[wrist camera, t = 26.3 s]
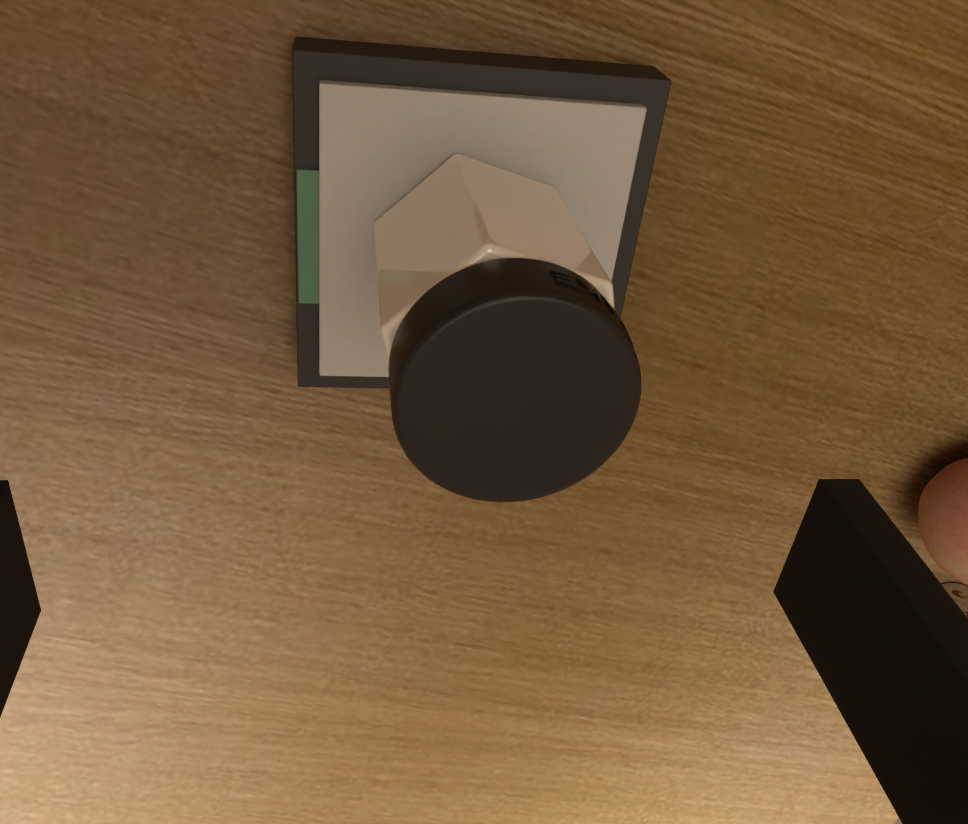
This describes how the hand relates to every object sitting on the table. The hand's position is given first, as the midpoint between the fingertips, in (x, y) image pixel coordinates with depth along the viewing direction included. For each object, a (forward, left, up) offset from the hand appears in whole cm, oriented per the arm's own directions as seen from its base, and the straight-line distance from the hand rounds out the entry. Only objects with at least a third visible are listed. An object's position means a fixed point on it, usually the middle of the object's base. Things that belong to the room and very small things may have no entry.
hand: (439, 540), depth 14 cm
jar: (+4, -5, -24) cm, 25 cm away
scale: (+4, -5, -27) cm, 27 cm away
